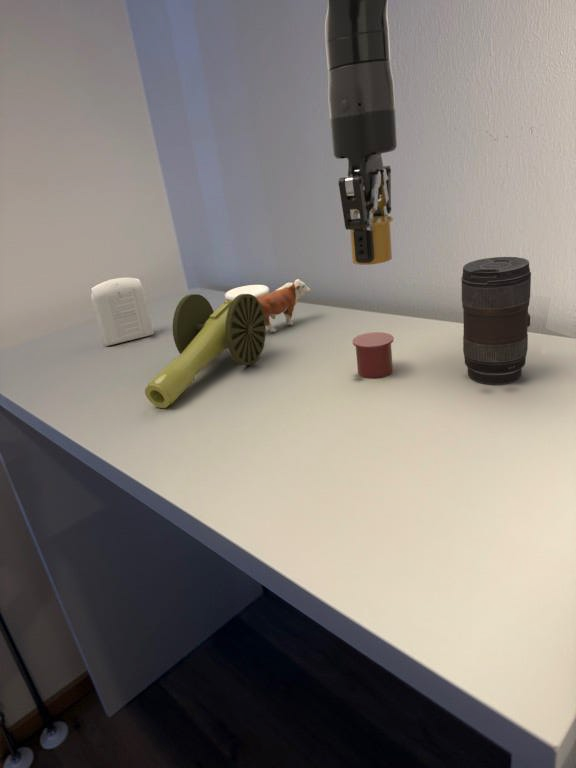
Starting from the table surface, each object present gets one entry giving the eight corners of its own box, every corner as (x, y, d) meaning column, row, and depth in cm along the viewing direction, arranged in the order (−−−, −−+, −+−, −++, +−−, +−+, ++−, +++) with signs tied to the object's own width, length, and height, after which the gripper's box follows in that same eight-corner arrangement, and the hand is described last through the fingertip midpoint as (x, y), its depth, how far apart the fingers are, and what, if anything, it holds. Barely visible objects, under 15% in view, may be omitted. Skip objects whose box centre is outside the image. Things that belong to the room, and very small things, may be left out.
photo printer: (152, 330, 114) (137, 272, 109) (156, 335, 110) (142, 275, 105) (102, 343, 110) (85, 283, 105) (105, 348, 106) (88, 287, 101)
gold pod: (380, 252, 73) (378, 214, 71) (403, 258, 68) (401, 217, 66) (342, 261, 71) (338, 222, 69) (362, 267, 66) (359, 226, 64)
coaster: (253, 313, 115) (251, 297, 113) (218, 311, 120) (215, 295, 119) (279, 299, 122) (277, 284, 121) (245, 298, 128) (242, 283, 126)
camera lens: (473, 360, 78) (473, 255, 72) (533, 366, 73) (539, 255, 67) (453, 382, 72) (451, 271, 66) (517, 391, 67) (521, 272, 61)
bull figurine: (316, 318, 105) (312, 277, 102) (258, 338, 99) (251, 295, 96) (303, 315, 109) (298, 275, 106) (246, 334, 103) (239, 292, 99)
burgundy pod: (383, 360, 82) (381, 329, 80) (403, 372, 77) (401, 339, 75) (348, 369, 80) (345, 338, 78) (366, 383, 75) (363, 349, 73)
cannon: (192, 414, 73) (174, 336, 69) (126, 407, 79) (105, 333, 74) (275, 347, 93) (266, 283, 89) (218, 345, 99) (206, 284, 94)
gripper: (376, 106, 55) (386, 269, 62) (408, 105, 67) (413, 243, 74) (309, 117, 59) (325, 271, 65) (350, 115, 70) (361, 246, 77)
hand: (372, 255), depth 70 cm, fingers closed on gold pod, 5 cm apart
